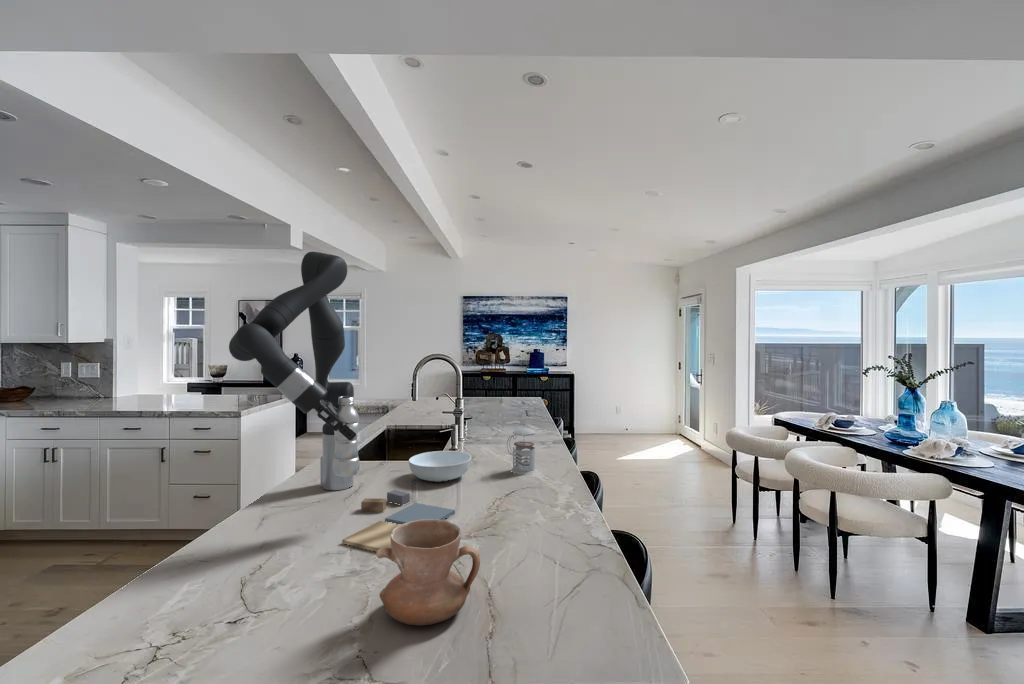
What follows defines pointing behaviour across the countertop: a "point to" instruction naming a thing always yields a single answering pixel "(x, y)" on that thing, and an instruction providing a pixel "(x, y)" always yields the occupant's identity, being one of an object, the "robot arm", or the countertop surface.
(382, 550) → the ceramic jug
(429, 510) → the slate mat
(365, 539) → the oak mat
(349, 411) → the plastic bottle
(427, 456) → the serving bowl
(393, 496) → the charcoal brick
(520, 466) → the french press
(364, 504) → the walnut brick
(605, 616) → the countertop surface
